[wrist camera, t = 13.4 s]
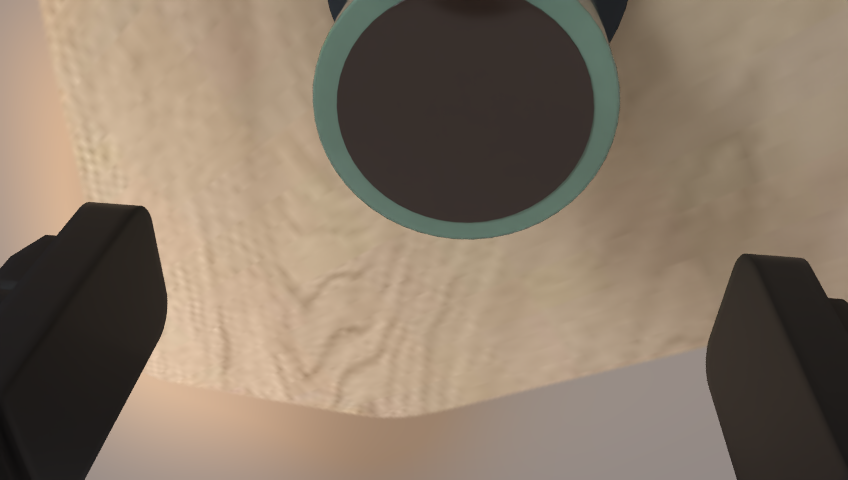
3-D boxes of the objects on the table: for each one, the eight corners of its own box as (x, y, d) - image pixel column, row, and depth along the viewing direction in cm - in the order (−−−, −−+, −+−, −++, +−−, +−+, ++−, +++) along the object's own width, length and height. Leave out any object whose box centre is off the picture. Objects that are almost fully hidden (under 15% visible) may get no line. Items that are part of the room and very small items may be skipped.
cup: (339, 9, 23) (260, 150, 16) (447, -181, 20) (412, -116, 13) (501, 111, 25) (500, 285, 17) (626, -51, 21) (689, 76, 14)
